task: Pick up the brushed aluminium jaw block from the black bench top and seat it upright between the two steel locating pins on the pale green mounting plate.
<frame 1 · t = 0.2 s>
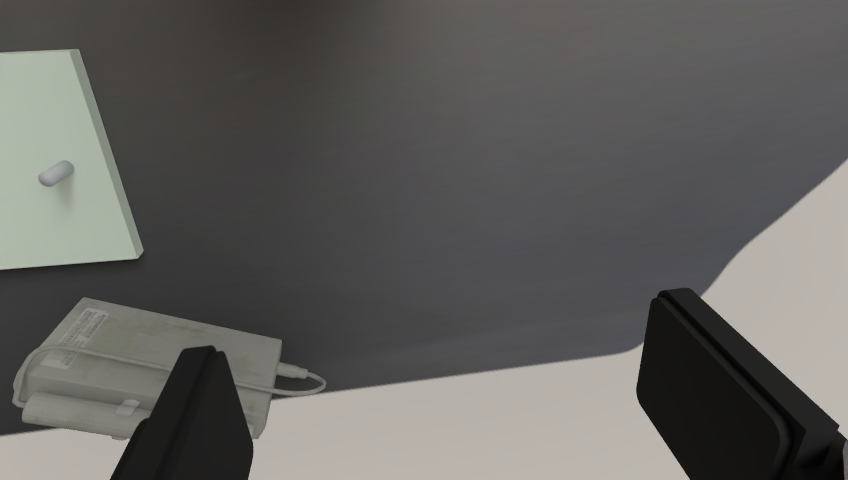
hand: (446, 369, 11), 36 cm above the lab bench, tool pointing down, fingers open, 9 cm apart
geiger counter: (211, 330, 53), on the lab bench
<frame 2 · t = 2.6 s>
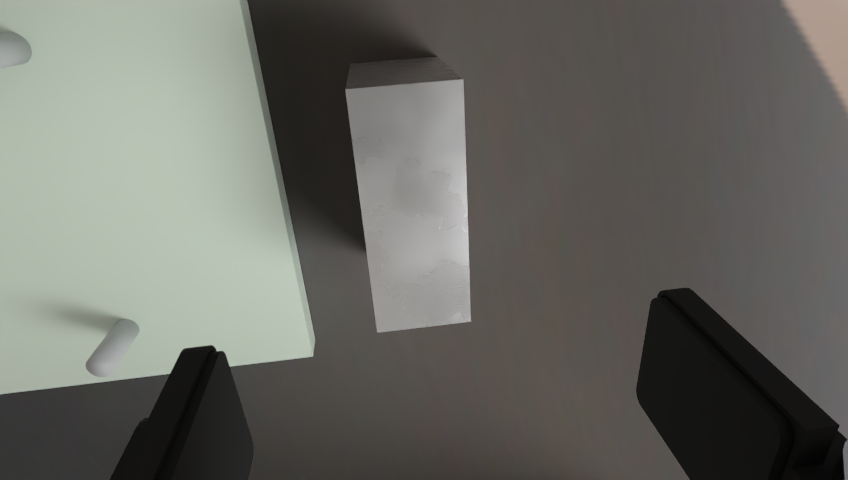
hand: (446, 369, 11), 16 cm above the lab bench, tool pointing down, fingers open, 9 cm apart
pin plate: (93, 195, 24), on the lab bench
jaw block: (403, 164, 26), on the lab bench
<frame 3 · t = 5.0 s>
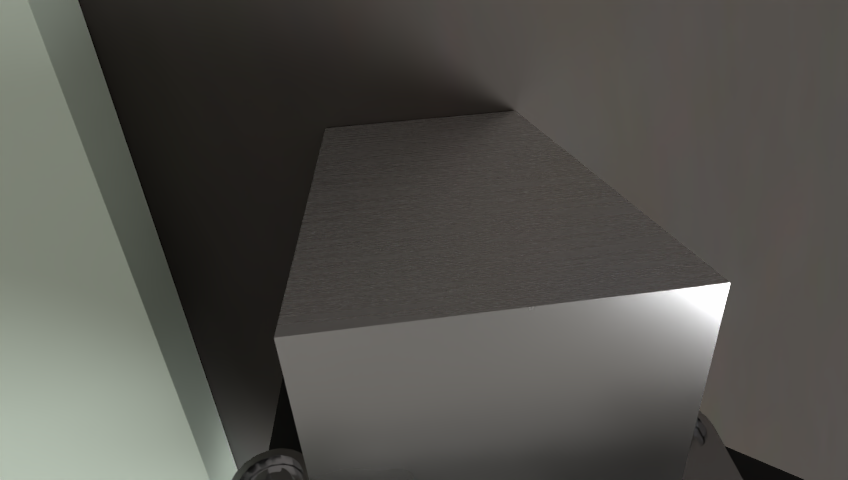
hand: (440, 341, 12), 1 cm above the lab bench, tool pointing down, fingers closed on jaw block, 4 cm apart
jaw block: (434, 316, 13), on the lab bench, touching gripper
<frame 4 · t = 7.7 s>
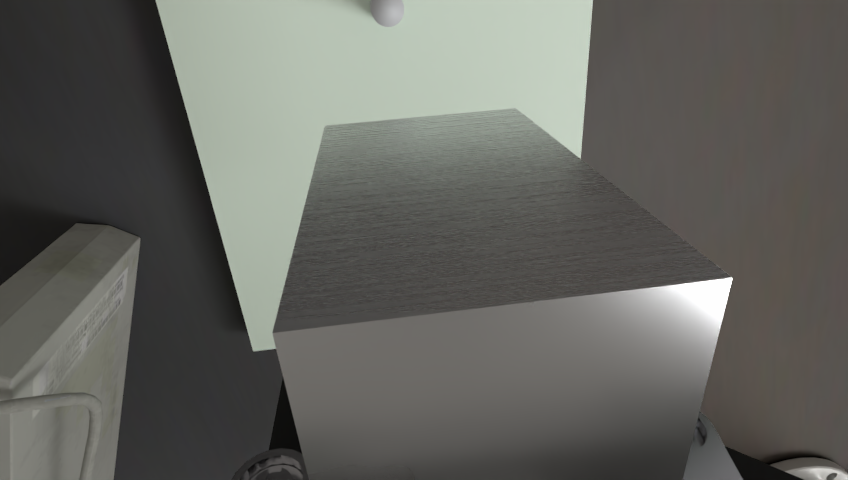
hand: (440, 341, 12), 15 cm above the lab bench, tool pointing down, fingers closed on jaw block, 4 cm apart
pin plate: (396, 153, 26), on the lab bench
geiger counter: (106, 405, 31), on the lab bench
jaw block: (434, 314, 13), point 14 cm above the lab bench, touching gripper
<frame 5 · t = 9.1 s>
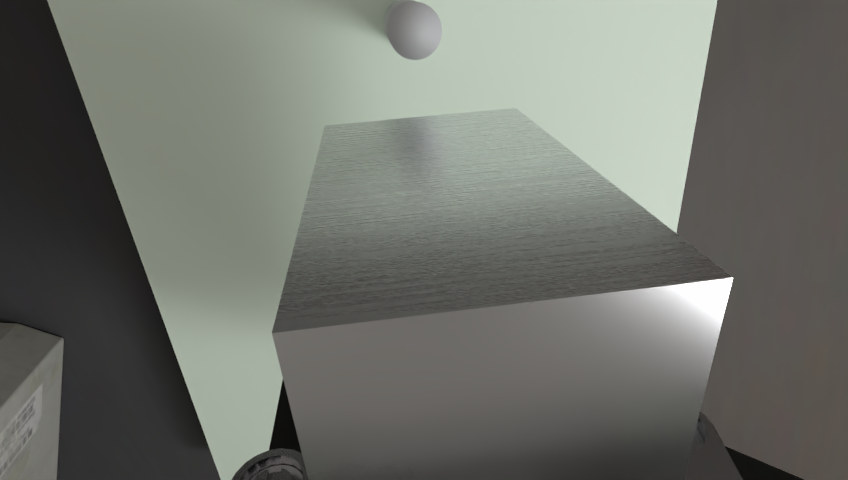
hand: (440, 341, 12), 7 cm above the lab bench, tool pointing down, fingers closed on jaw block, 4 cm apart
pin plate: (417, 224, 18), on the lab bench
jaw block: (434, 314, 13), point 6 cm above the lab bench, touching gripper
when the fingers open (4 cm above the lab bench, at t = 10.5 s): jaw block drops 1 cm, resting on pin plate.
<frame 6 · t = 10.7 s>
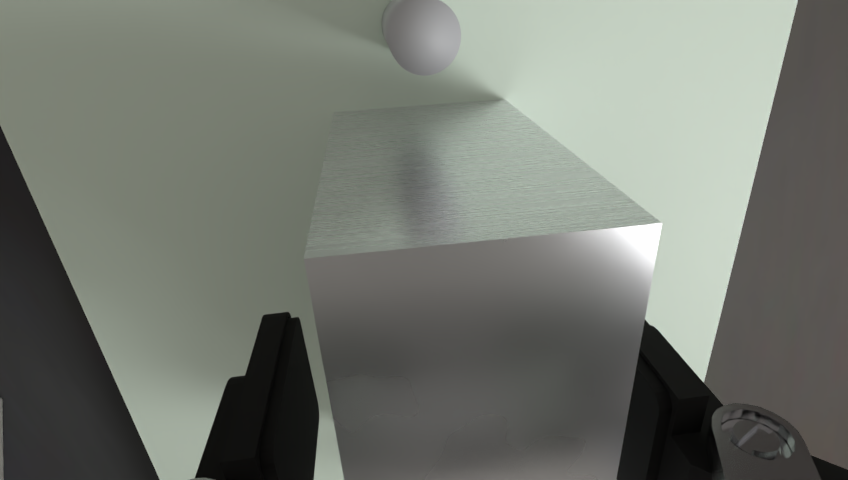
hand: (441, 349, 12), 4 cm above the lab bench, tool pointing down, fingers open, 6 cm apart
pin plate: (422, 263, 15), on the lab bench
jaw block: (430, 287, 14), point 1 cm above the lab bench, touching pin plate
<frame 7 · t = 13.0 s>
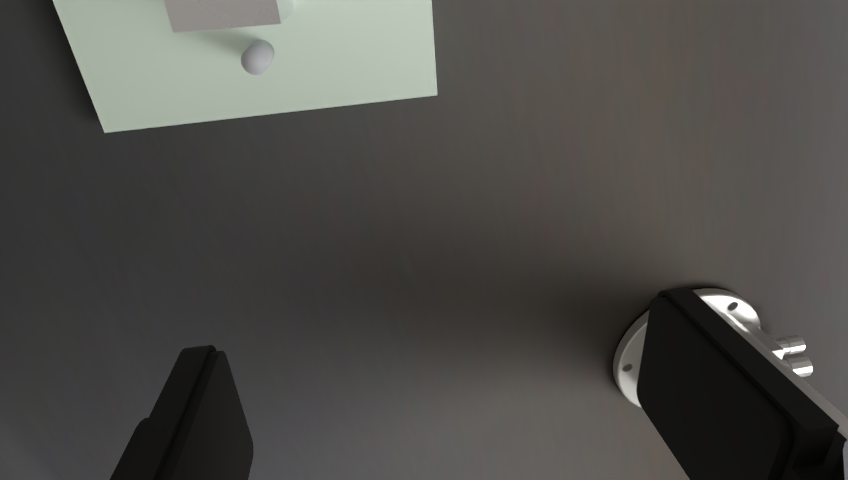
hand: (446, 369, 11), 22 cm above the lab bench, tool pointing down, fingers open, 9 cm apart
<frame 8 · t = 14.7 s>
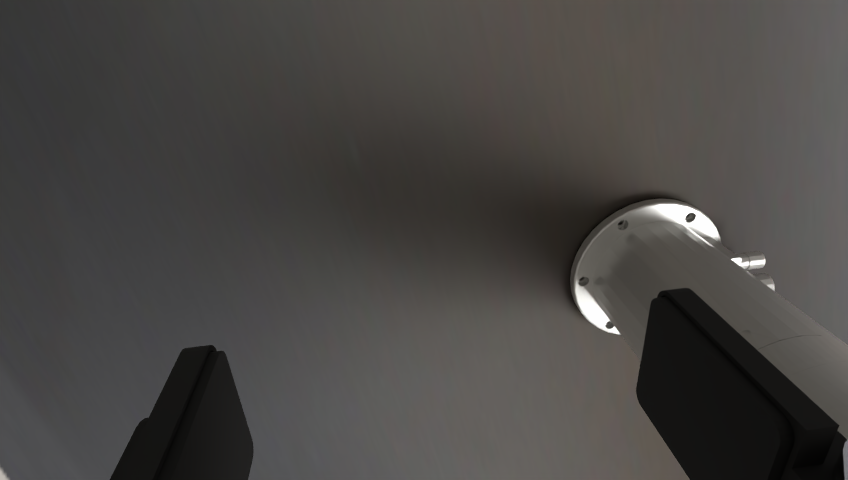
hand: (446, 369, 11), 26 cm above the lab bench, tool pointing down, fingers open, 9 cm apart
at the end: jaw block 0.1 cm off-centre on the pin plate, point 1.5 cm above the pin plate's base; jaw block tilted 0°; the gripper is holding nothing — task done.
